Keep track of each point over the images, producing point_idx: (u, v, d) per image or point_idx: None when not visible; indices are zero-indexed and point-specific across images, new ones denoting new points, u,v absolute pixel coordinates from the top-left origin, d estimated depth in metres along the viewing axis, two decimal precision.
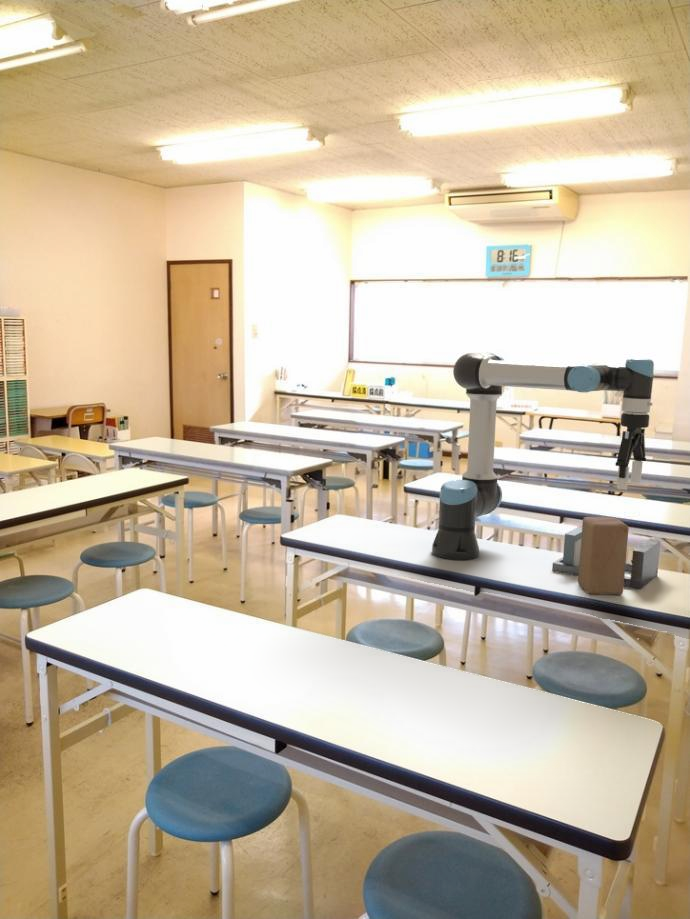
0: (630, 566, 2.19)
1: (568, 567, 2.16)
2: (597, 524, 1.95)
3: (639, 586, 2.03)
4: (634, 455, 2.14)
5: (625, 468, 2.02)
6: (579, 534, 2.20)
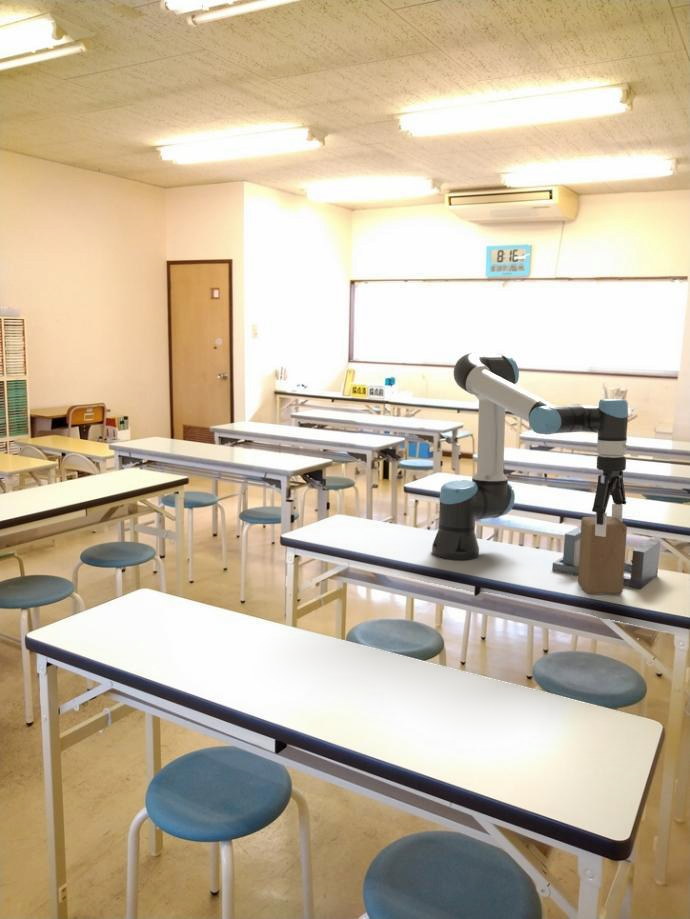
0: (630, 566, 2.19)
1: (568, 567, 2.16)
2: None
3: (639, 586, 2.03)
4: (613, 498, 2.04)
5: (602, 514, 1.92)
6: (579, 534, 2.20)
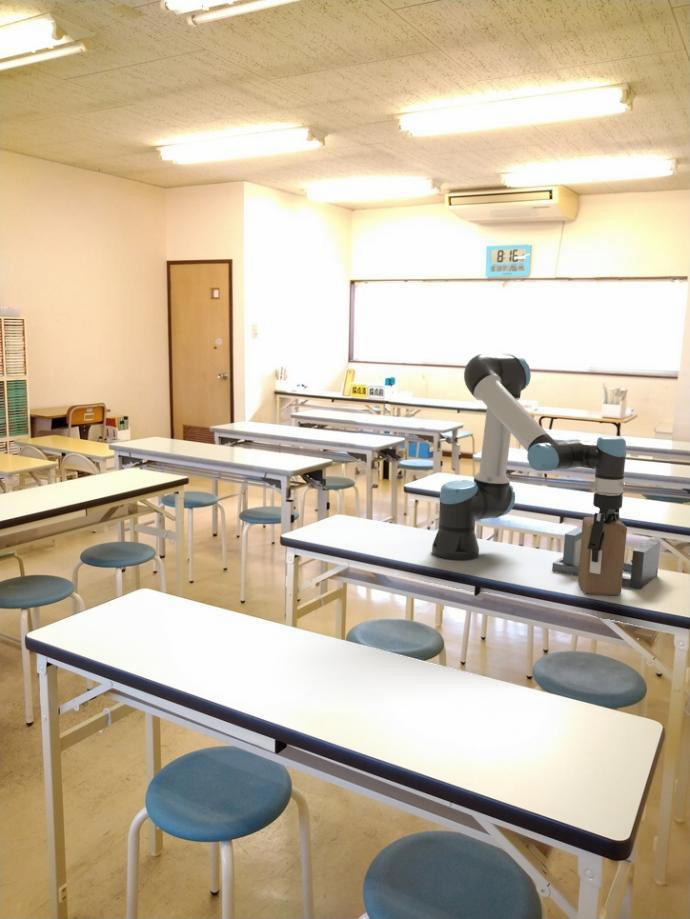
0: (630, 566, 2.19)
1: (568, 567, 2.16)
2: None
3: (639, 586, 2.03)
4: None
5: (597, 552, 1.94)
6: (579, 534, 2.20)
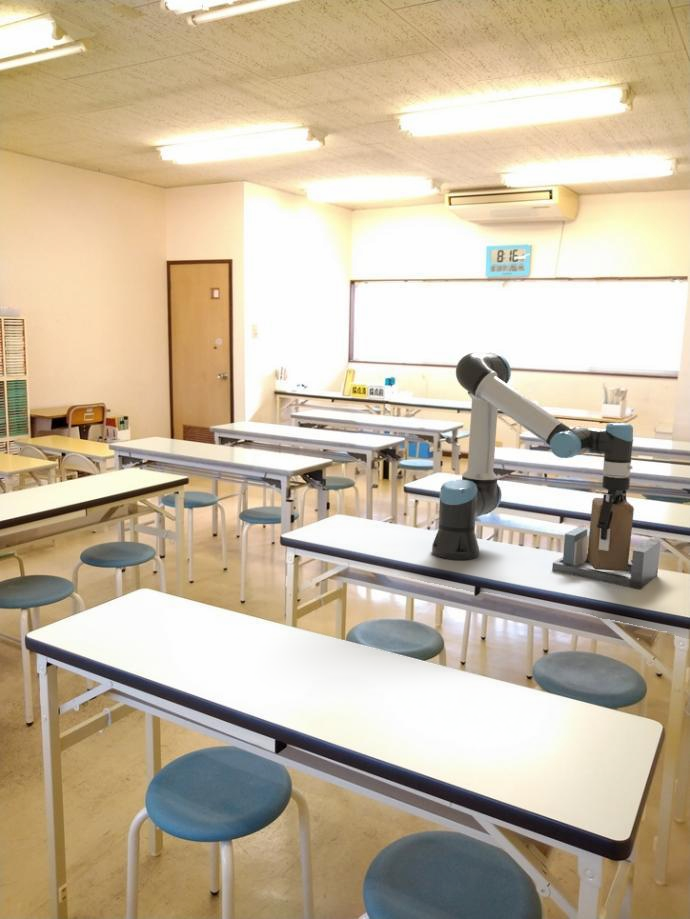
0: (630, 566, 2.19)
1: (568, 567, 2.16)
2: None
3: (639, 586, 2.03)
4: None
5: (606, 530, 2.08)
6: (579, 534, 2.20)
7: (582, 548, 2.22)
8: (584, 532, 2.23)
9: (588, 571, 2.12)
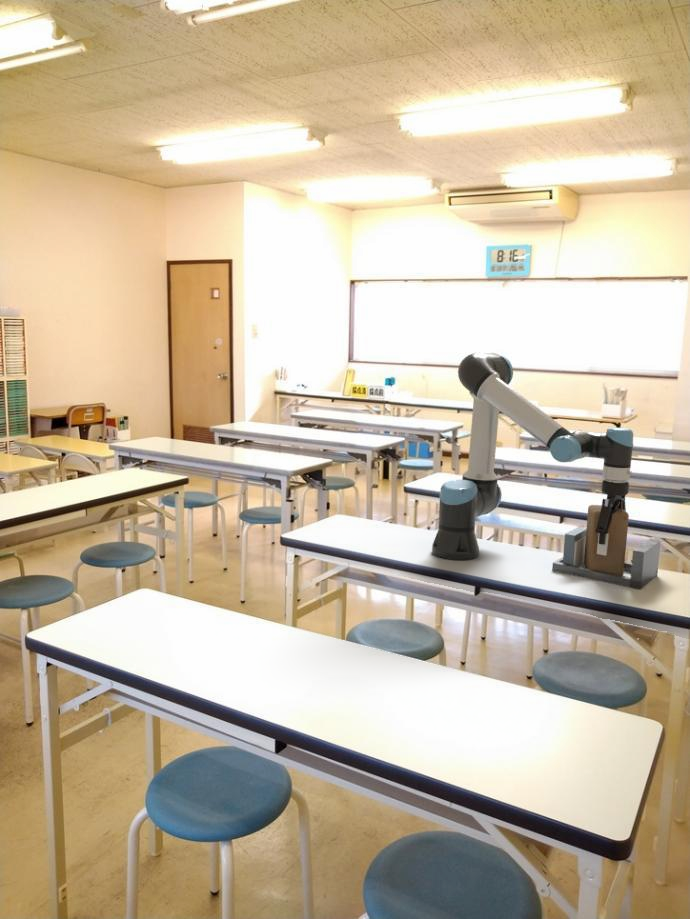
0: (630, 566, 2.19)
1: (568, 567, 2.16)
2: (598, 511, 2.11)
3: (639, 586, 2.03)
4: None
5: (605, 535, 2.08)
6: (579, 534, 2.20)
7: (582, 548, 2.22)
8: (584, 532, 2.23)
9: (588, 571, 2.12)
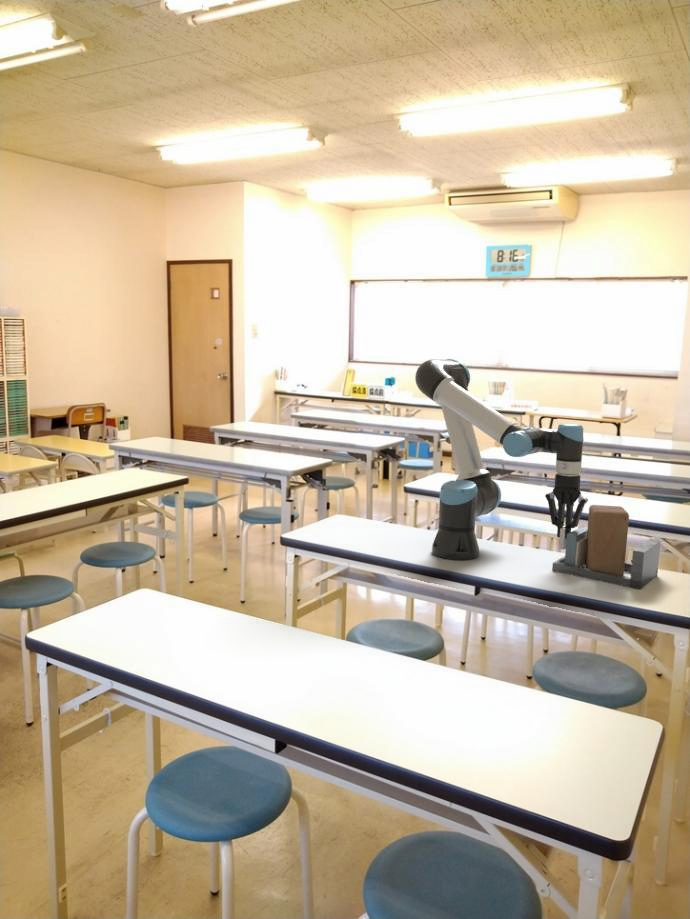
0: (630, 566, 2.19)
1: (568, 567, 2.16)
2: (598, 511, 2.11)
3: (639, 586, 2.03)
4: None
5: None
6: (581, 534, 2.19)
7: (584, 548, 2.21)
8: (586, 532, 2.23)
9: (588, 571, 2.12)
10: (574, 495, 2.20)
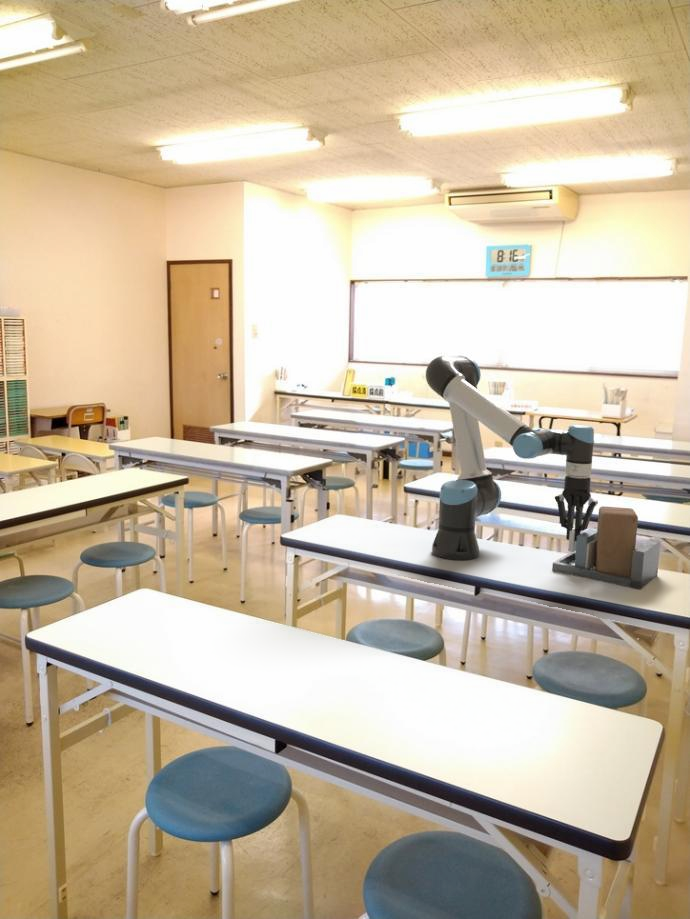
0: None
1: (568, 567, 2.16)
2: (607, 512, 2.10)
3: (639, 586, 2.03)
4: None
5: (570, 530, 2.22)
6: (591, 536, 2.17)
7: (594, 550, 2.19)
8: (596, 534, 2.21)
9: (588, 571, 2.12)
10: (584, 497, 2.18)
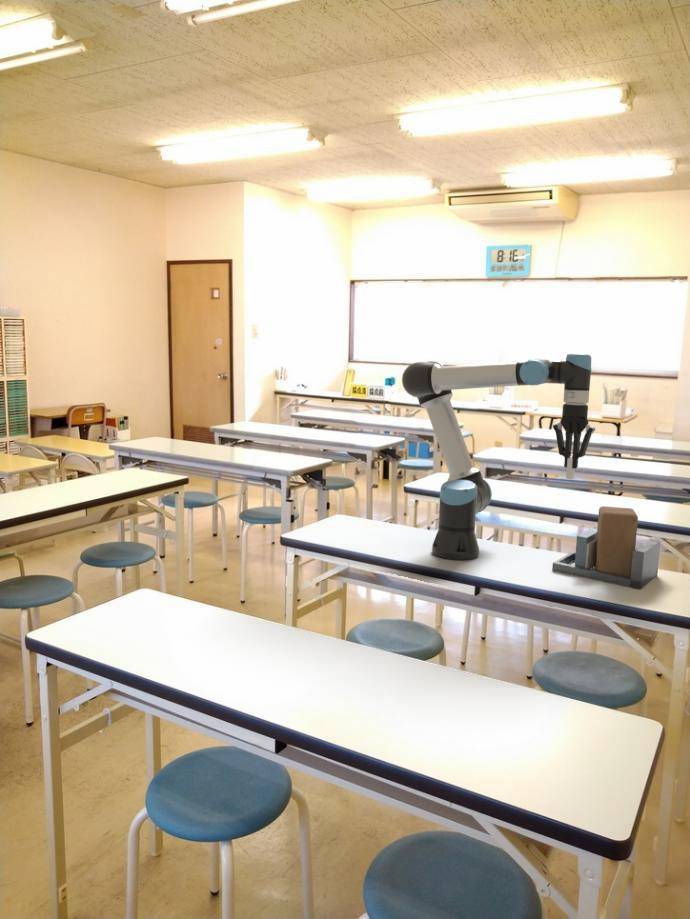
0: None
1: (568, 567, 2.16)
2: (607, 512, 2.10)
3: (639, 586, 2.03)
4: None
5: (568, 458, 2.26)
6: (591, 536, 2.17)
7: (594, 550, 2.19)
8: (596, 534, 2.21)
9: (588, 571, 2.12)
10: (582, 424, 2.22)
